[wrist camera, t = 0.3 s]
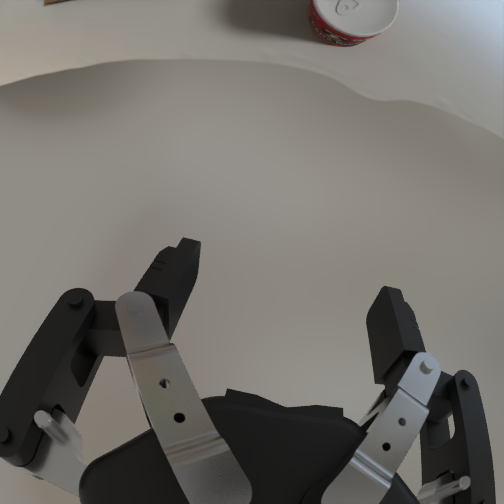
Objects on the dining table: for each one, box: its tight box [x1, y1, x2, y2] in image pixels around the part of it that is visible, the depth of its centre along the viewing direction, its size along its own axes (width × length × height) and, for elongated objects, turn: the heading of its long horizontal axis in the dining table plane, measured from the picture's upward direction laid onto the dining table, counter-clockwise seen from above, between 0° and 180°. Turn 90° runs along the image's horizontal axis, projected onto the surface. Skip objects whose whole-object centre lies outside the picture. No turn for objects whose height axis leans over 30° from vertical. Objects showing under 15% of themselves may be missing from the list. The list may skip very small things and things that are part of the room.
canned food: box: [309, 0, 399, 47], centre depth 22 cm, size 8×8×11 cm
